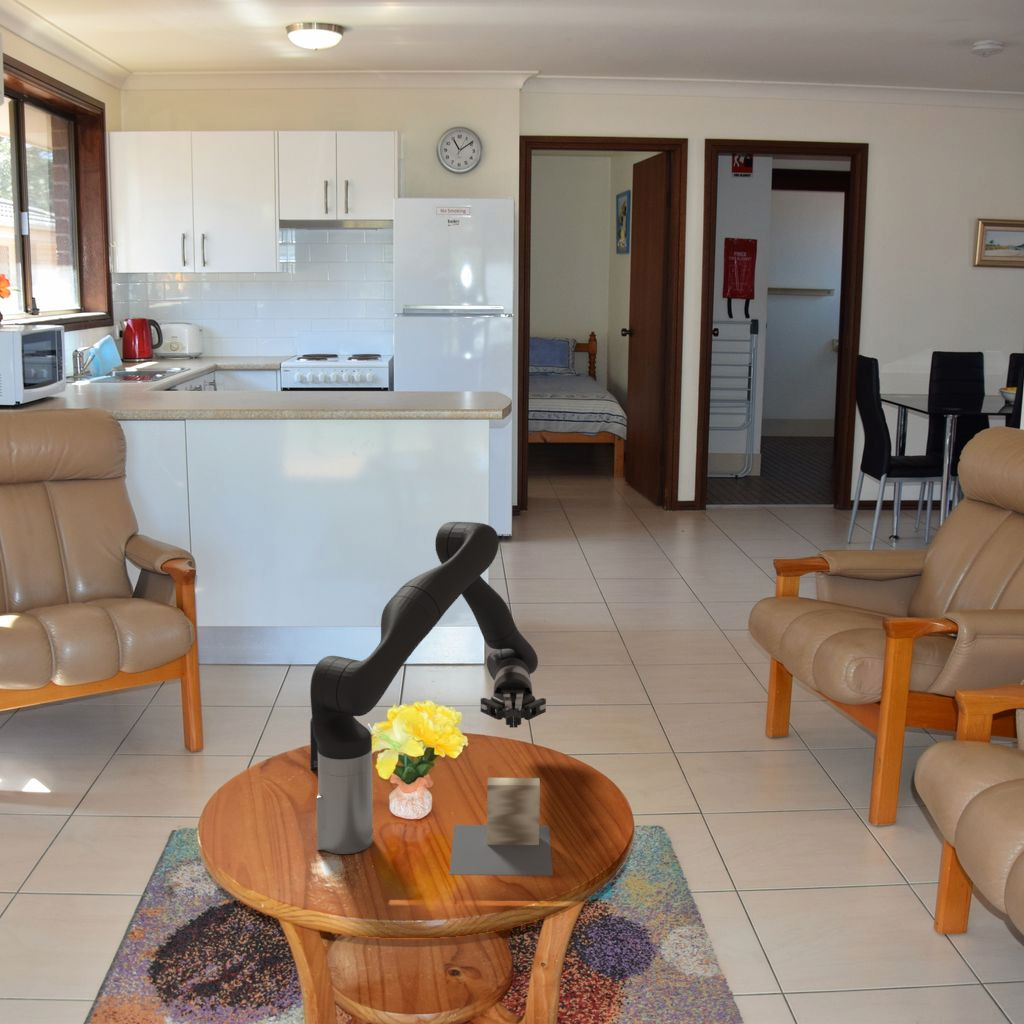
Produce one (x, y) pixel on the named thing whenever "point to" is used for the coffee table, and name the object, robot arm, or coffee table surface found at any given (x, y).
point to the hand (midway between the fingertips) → (513, 722)
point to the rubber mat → (498, 854)
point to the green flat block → (513, 811)
